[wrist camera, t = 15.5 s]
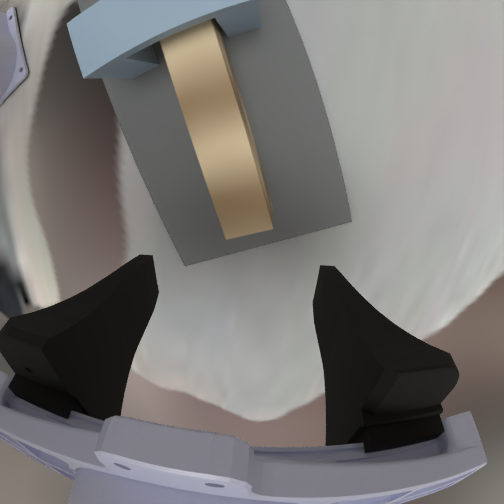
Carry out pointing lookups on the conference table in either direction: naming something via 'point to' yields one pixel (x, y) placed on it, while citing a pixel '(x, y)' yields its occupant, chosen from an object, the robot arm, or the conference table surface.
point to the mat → (264, 133)
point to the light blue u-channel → (146, 31)
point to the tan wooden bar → (219, 128)
